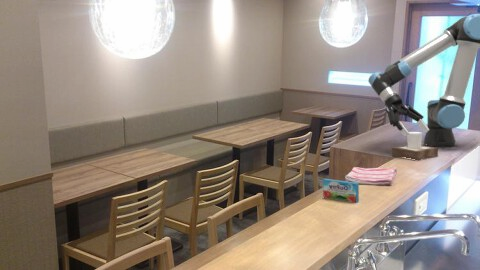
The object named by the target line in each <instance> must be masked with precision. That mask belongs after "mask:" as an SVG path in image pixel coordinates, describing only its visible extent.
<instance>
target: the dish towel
mask: <svg viewBox="0 0 480 270" xmlns="http://www.w3.org/2000/svg"><path fill="white" fill-rule="evenodd" d="M397 172H398V169H397V167H374V168H373V167H372V168H371V167H369V168H365V167H357V166H354V167H353V168H352V169H351V171H350V172H349V173H348V174H346V175H345V177H344V179H345V180H344V181H347V182H355V183H358V184H359V185H368V186H369V185H370V186H374V185H375V186H392V184H393V183H394V180H395V177H396V176H397Z"/></svg>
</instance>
